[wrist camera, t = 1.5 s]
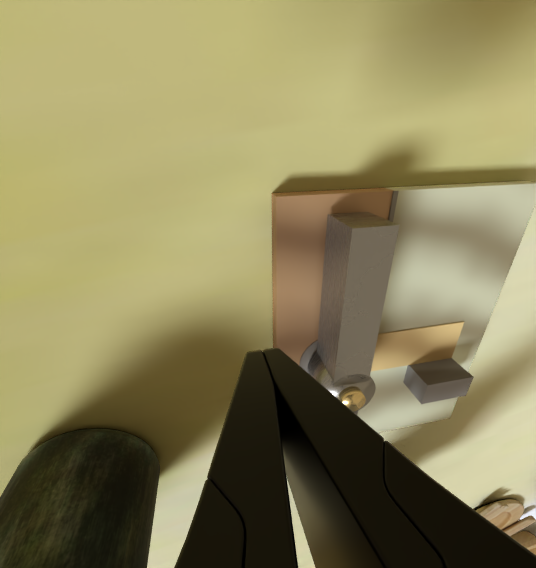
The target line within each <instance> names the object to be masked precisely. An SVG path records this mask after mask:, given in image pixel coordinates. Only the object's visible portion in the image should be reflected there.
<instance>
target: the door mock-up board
mask: <svg viewBox="0 0 536 568" xmlns="http://www.w3.org/2000/svg"><path fill="white" fill-rule="evenodd" d="M535 205H536V182H532V181H511V182H491V183H470V184H450V185H429V186H409V187H388V188H368V189H347V190H327V191H306V192H286V193H272V277H273V348H279V349H281V350H282V351H283V352H284V353H285V354H286V355H288V356H289V357H290V358H291V359H292V360H293V361H295V362H296V363H297V364H298V365H299V366H300V367H302V368H303V369H304V370H305V371H306V372H307V373H308V363H309V361H310V359H311V357H312V356H313V355H314V354H315V353H316V352H317V341H318V329H319V316H320V303H321V291H322V278H323V265H324V253H325V240H326V227H327V215H328V214H337V213H352V212H370V213H372V214H375V215H377V216H379V217H382V218H384V219H386V220H389V221H391V222H393V223H396V224H398V225H399V230H398V236H397V241H396V246H395V251H394V256H393V261H392V266H391V271H390V276H389V281H388V287H387V292H386V297H385V302H384V307H383V312H382V317H381V322H380V327H379V332H378V338H377V343H376V348H375V353H374V358H373V363H372V368H371V373H370V376H371V378H372V379H373V381H374V383H375V387H376V389H375V393H374V396H373V397H372V399H371V400H370V402H369V403H368V404H367V405H366V406H364V407H363V408H362V409H360V410H358V411H356V412H354V413H355V414H356V415H357V416H359V417H360V418H361V419H362V420H363V421H364V422H366V423H367V424H368V425H369V426H370V427H371V428H373V429H374V430H375V431H376V432H377V433H381V432H386V431H391V430H396V429H400V428H405V427H410V426H415V425H419V424H424V423H429V422H434V421H439V420H443V419H448V418H450V417H451V414H452V412H453V409H454V407H455V404H456V402H457V399H458V397H461V396H466V394H467V391H468V389H469V387H470V384H471V382H472V379H473V376H472V375H471V374H470V373H468V372H469V369H470V367H471V364H472V362H473V359H474V357H475V355H476V352H477V350H478V347H479V345H480V342H481V340H482V337H483V335H484V332H485V330H486V327H487V325H488V322H489V320H490V317H491V315H492V312H493V310H494V307H495V305H496V302H497V300H498V297H499V295H500V292H501V290H502V287H503V285H504V282H505V280H506V277H507V275H508V272H509V270H510V267H511V265H512V262H513V260H514V257H515V255H516V252H517V250H518V247H519V245H520V242H521V240H522V237H523V235H524V232H525V230H526V227H527V225H528V222H529V220H530V218H531V215H532V213H533V210H534V208H535Z"/></svg>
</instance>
